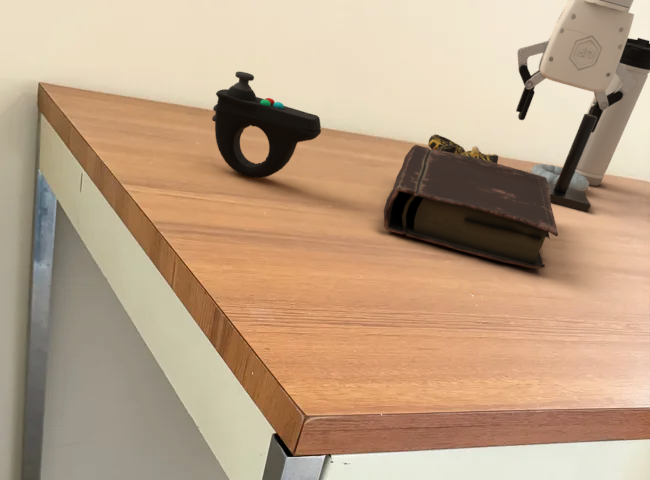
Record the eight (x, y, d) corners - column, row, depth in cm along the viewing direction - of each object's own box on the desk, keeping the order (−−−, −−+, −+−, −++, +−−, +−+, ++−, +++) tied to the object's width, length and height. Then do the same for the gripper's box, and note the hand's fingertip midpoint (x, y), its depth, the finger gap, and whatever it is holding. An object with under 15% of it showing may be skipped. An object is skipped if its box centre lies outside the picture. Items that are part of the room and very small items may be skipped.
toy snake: (439, 113, 126) (500, 136, 126) (426, 144, 129) (487, 166, 128) (431, 138, 112) (500, 163, 112) (417, 172, 115) (485, 197, 115)
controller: (213, 159, 98) (228, 65, 92) (310, 189, 96) (332, 95, 90) (199, 165, 95) (214, 68, 89) (300, 196, 93) (322, 99, 87)
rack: (580, 198, 122) (615, 118, 116) (587, 212, 116) (624, 128, 109) (528, 184, 123) (559, 103, 116) (532, 197, 116) (565, 112, 110)
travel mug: (603, 183, 135) (665, 44, 123) (595, 188, 130) (657, 44, 118) (567, 171, 137) (624, 33, 125) (557, 175, 132) (615, 33, 120)
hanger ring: (581, 185, 130) (586, 173, 129) (588, 198, 123) (594, 185, 122) (527, 170, 131) (531, 158, 130) (531, 183, 124) (536, 170, 123)
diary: (377, 230, 88) (391, 182, 85) (397, 180, 108) (409, 139, 105) (548, 278, 87) (568, 230, 84) (536, 218, 107) (553, 178, 104)
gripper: (547, -23, 110) (496, 115, 120) (673, 11, 109) (612, 148, 120) (542, -24, 116) (494, 108, 126) (662, 8, 115) (604, 138, 126)
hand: (552, 127), depth 123 cm, fingers open, 9 cm apart
